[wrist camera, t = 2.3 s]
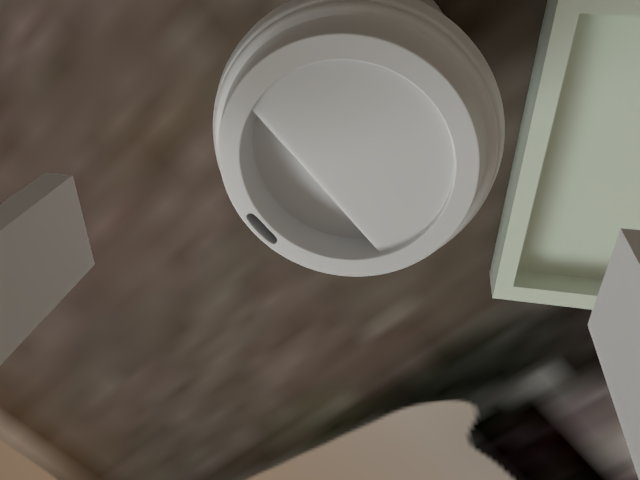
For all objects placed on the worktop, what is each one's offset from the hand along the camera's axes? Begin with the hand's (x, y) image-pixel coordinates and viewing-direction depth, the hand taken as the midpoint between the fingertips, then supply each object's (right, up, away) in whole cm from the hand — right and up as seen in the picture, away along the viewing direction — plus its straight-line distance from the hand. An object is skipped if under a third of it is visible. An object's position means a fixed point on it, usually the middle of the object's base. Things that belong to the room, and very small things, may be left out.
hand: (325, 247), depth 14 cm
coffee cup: (+3, +10, +16) cm, 19 cm away
